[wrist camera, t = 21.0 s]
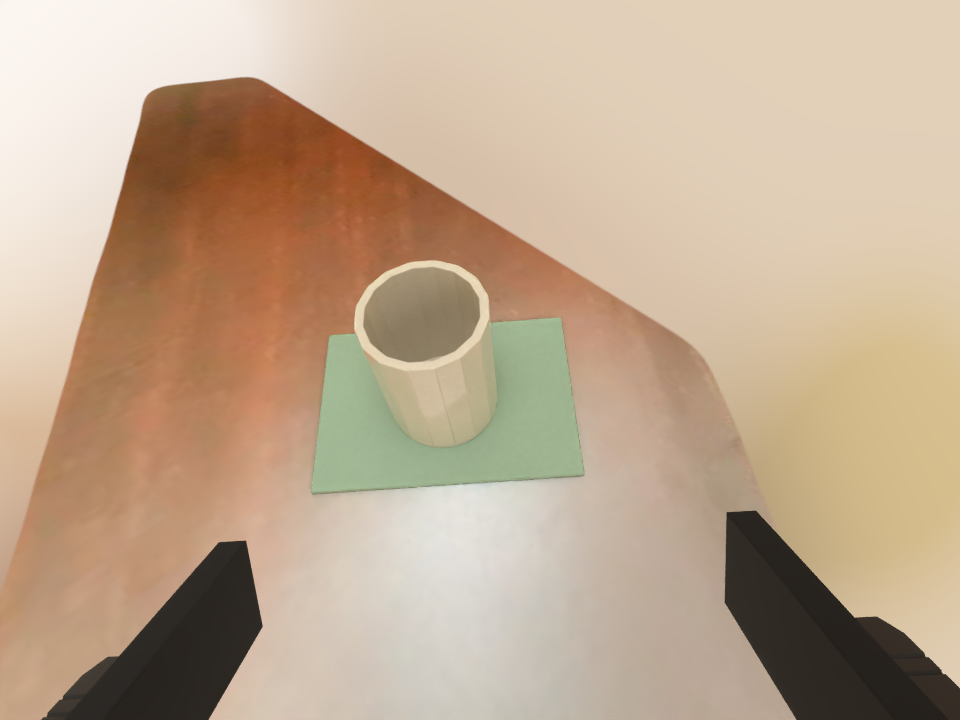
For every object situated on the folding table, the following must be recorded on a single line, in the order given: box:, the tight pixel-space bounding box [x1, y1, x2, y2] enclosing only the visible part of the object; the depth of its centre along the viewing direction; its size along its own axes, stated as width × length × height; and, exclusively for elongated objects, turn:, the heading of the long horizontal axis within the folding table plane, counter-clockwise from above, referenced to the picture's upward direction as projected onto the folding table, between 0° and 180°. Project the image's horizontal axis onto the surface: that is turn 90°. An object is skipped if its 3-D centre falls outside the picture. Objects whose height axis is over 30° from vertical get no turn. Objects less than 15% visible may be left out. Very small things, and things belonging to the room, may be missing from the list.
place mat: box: [311, 317, 584, 494], centre depth 45 cm, size 20×14×1 cm
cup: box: [354, 260, 498, 448], centre depth 40 cm, size 8×8×12 cm
